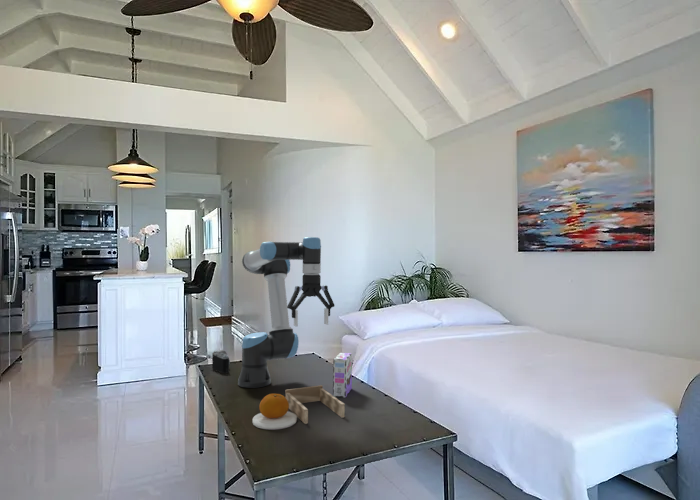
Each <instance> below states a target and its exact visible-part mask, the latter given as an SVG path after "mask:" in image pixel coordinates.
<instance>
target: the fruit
mask: <svg viewBox="0 0 700 500" xmlns="http://www.w3.org/2000/svg"><path fill="white" fill-rule="evenodd" d="M258 408H259V413H261V414H262V415H263V416H265V417H267V418H279V417H282V416H284V415H285V414H286V413H287V411H288V412H289V410H290V409H289V403H288V401H287V399H286V398H285V395H282V394H281V393H269V394H266V395H265V396H263V398H262V399H261V401H260V403H259V407H258Z"/></svg>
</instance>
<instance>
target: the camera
mask: <svg viewBox="0 0 700 500" xmlns="http://www.w3.org/2000/svg"><path fill="white" fill-rule="evenodd" d="M211 362H212V367H211V368H212V369H213V370H215V371H217V372H220V373H222V374H227V373H229V372H230V364H231V361H230V357H229V355H228V353H227V351H225V350H224V349H219V350H214V351H213V352H212V361H211Z"/></svg>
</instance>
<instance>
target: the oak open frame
mask: <svg viewBox="0 0 700 500" xmlns="http://www.w3.org/2000/svg"><path fill="white" fill-rule="evenodd" d="M284 391H285V392H284V393H285V394H284V397H285V398H286V399H287V401H288V403H289V409H288V410H290V412H292V413H294V414H295V415H296V416H297V419H299V420H300V421H302V423H303V424H304V425H307V424H308V423H309V409H308V408H307V407H306V406H305V405H304V404H306V403H313V402H321V403H322V404H323V405H325V406H326V407H327V408H328V409H330V410H331V411H332V412H333V413H334V414H336V415H338V416H339V418H341V419H343V418H345V416H346V415H345V413H346V412H345V411H346V407H345V404H346V403H344V402H343V401H341V400H339V399H338V397H334V396H333V394H332V393H330V392H328V391H327V390H325V389H324V388H323V385H322V384H321V385H320V384H319V385H312V386H304V387H297V388H290V389H285V390H284Z"/></svg>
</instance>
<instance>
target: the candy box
mask: <svg viewBox="0 0 700 500" xmlns="http://www.w3.org/2000/svg"><path fill="white" fill-rule="evenodd" d="M352 357H353V353H351V352H339V353H338V354H337V355H336V356H335V357H334V358H333V360H332V364H333V365H332V367H333V368H332V371H333V373H332V395H333V396H334V397H335V398H346V397H347V396H348V394H349V393H350V392H351V390H352V389H353V384H352V383H353V377H352V375H353V373H352V371H353V369H352V368H353V367H352V366H353V358H352Z"/></svg>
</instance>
